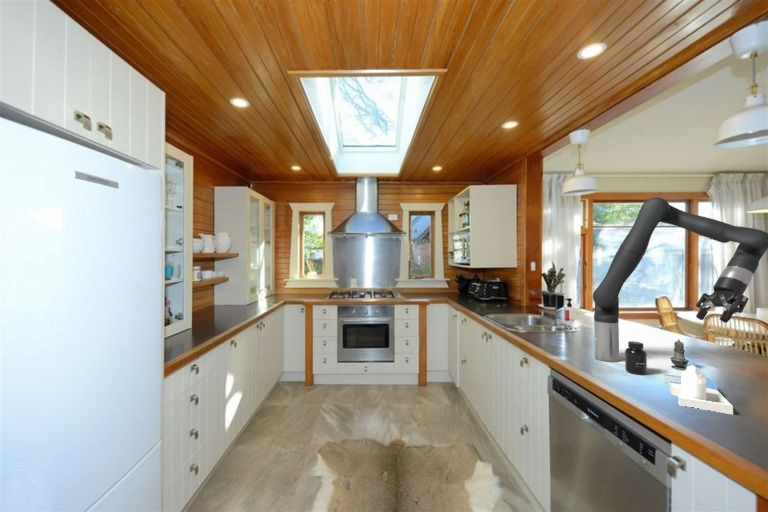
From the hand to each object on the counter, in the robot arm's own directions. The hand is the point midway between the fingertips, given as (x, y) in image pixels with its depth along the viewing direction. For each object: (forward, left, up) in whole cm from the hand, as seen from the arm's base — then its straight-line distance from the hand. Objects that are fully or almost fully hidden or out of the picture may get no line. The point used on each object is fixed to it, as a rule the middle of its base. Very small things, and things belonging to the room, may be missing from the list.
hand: (710, 320), depth 114 cm
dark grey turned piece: (-5, +22, -24) cm, 33 cm away
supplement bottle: (-21, +7, -24) cm, 33 cm away
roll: (-9, -18, -24) cm, 31 cm away
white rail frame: (-8, -12, -24) cm, 28 cm away
